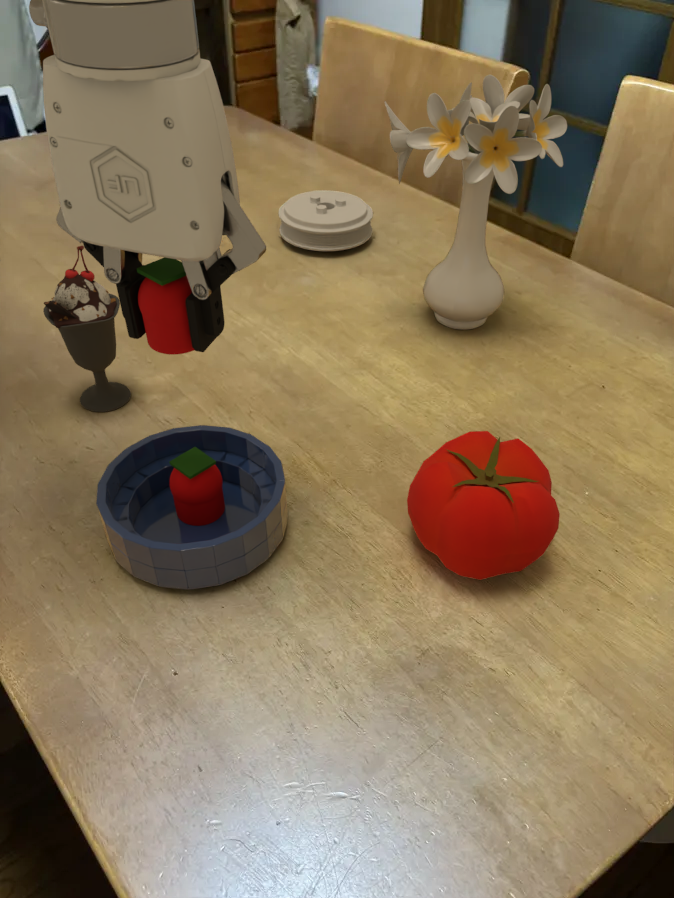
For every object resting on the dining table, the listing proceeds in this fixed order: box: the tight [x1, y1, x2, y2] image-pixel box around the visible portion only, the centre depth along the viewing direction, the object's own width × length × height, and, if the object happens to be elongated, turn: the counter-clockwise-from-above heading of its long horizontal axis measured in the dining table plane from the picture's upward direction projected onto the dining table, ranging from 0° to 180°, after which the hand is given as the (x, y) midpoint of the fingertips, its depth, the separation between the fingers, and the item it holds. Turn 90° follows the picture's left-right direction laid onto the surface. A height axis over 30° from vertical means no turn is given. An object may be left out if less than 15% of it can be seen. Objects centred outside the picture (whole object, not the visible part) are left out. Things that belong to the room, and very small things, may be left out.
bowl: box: [95, 424, 289, 591], centre depth 61 cm, size 14×14×5 cm
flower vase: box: [384, 74, 568, 331], centre depth 80 cm, size 13×18×25 cm
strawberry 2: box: [169, 447, 225, 526], centre depth 61 cm, size 4×4×5 cm
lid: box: [277, 189, 374, 252], centre depth 101 cm, size 13×13×5 cm
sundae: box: [43, 245, 132, 413], centre depth 70 cm, size 7×7×15 cm
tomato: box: [406, 430, 561, 581], centre depth 59 cm, size 11×12×9 cm
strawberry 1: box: [137, 257, 195, 356], centre depth 50 cm, size 4×4×5 cm
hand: (176, 332), depth 52 cm, fingers closed on strawberry 1, 4 cm apart
